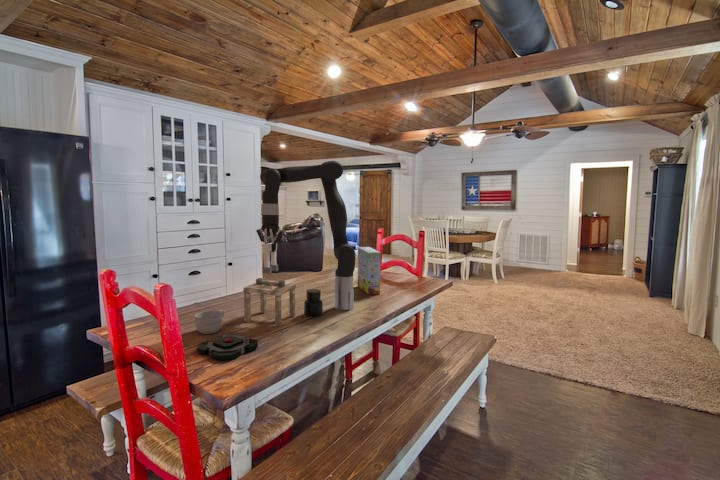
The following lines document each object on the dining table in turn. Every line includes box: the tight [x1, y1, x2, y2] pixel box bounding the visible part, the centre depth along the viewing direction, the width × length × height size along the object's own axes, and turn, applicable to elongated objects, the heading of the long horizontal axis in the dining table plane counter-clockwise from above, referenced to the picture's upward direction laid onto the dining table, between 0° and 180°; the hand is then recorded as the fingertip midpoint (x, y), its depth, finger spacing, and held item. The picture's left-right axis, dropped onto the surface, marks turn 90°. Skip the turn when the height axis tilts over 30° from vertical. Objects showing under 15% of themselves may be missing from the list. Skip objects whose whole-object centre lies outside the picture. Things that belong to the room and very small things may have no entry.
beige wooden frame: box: [242, 277, 297, 327], centre depth 178 cm, size 18×16×19 cm
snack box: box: [357, 246, 382, 295], centre depth 235 cm, size 22×9×26 cm, turn 17°
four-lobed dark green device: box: [196, 333, 259, 361], centre depth 143 cm, size 18×18×5 cm
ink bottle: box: [303, 288, 324, 318], centre depth 186 cm, size 10×9×12 cm
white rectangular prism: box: [261, 242, 279, 275], centre depth 175 cm, size 8×4×13 cm, turn 163°
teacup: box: [194, 309, 225, 335], centre depth 162 cm, size 14×11×8 cm
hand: (270, 251), depth 175 cm, fingers closed on white rectangular prism, 2 cm apart
